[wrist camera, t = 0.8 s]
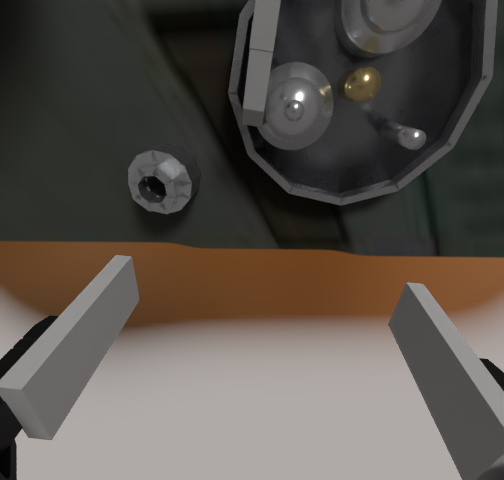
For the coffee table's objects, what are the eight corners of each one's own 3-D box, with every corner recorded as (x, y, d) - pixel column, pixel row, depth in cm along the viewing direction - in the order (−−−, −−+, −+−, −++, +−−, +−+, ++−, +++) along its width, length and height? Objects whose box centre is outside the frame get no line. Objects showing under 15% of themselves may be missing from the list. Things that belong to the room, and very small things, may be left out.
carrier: (193, 95, 28) (166, 97, 22) (370, -163, 20) (422, -303, 13) (332, 227, 34) (347, 262, 27) (518, 75, 25) (609, 70, 18)
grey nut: (133, 175, 33) (107, 191, 28) (163, 131, 30) (140, 139, 25) (179, 211, 35) (162, 232, 30) (211, 172, 32) (199, 188, 27)
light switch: (249, 117, 29) (240, 125, 22) (268, -36, 23) (265, -89, 16) (265, 120, 29) (261, 129, 22) (288, -33, 23) (293, -85, 16)
